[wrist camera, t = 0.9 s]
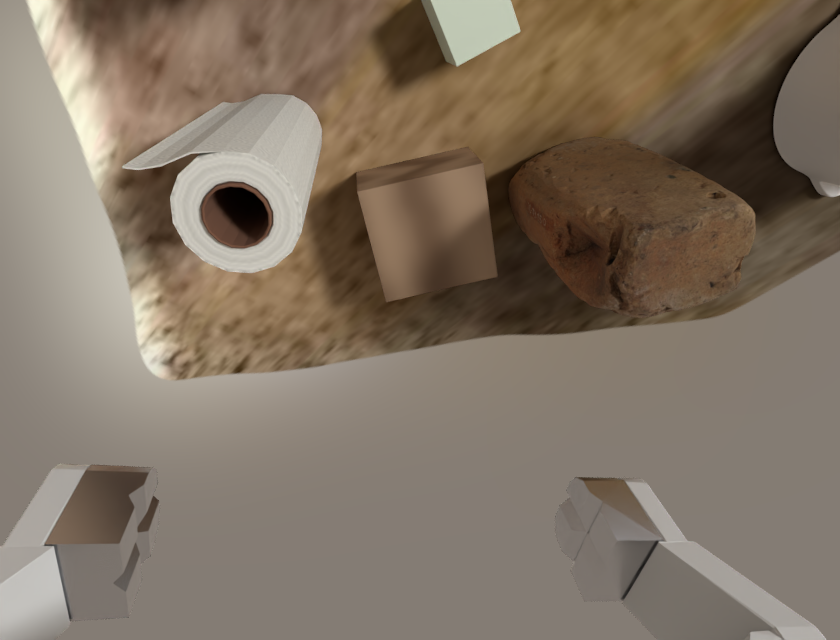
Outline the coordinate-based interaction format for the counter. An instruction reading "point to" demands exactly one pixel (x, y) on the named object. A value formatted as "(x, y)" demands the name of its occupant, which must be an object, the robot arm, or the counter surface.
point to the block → (631, 226)
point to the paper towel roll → (242, 180)
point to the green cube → (470, 26)
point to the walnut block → (428, 223)
